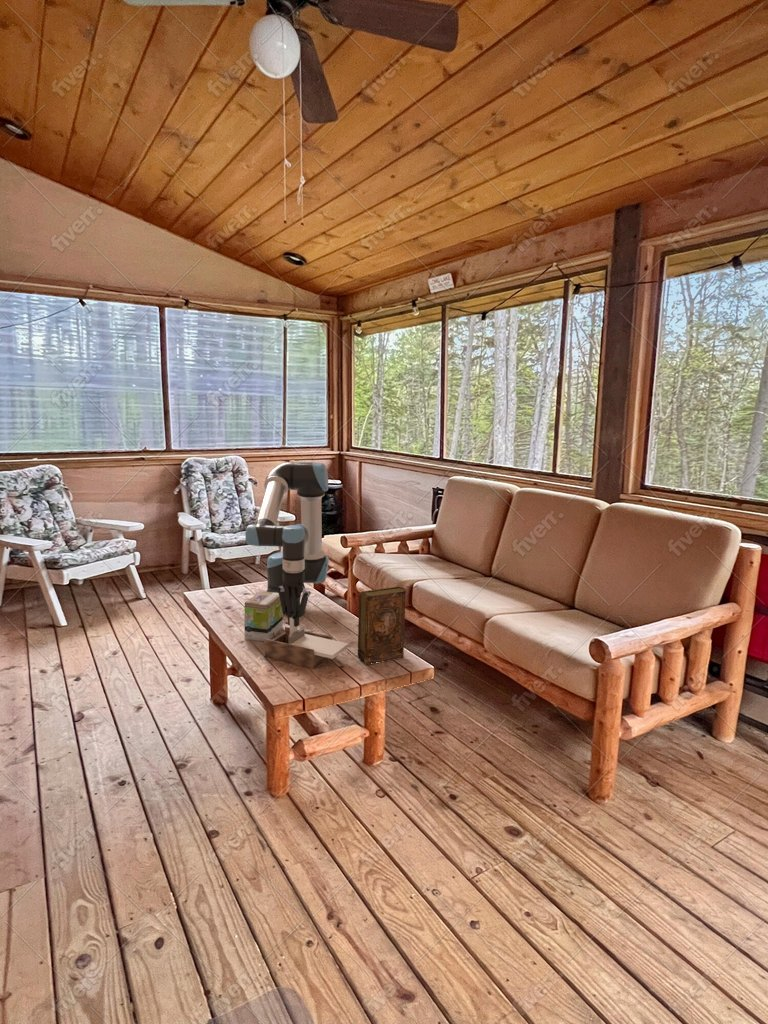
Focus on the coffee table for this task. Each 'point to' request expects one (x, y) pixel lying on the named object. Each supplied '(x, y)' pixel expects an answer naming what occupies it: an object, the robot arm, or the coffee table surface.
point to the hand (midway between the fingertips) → (293, 634)
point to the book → (381, 624)
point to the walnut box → (292, 650)
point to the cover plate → (317, 644)
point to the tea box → (263, 616)
